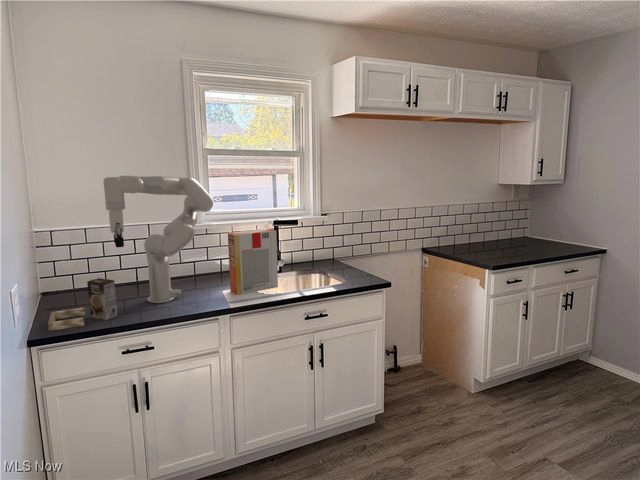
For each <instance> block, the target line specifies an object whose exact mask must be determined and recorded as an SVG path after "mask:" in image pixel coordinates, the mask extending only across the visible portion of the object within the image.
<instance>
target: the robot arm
mask: <svg viewBox="0 0 640 480" xmlns="http://www.w3.org/2000/svg"><path fill="white" fill-rule="evenodd" d="M103 190H104V199H105V200H104V202H105V203H104V204H105V211H108V216H109V219H108V220H109V228H110V233H111V234H113V242H114V244H115V248H124V246H125V241H124V236H123V233H124V227H125V226H124V213H123V210H126V201H125V194H137V193H140V194H147V195H148V194H150V195H156V196H157V195H158V196H166V195H167V196H185V198H184V201H183V211H182V212H181V214H180V215H179V216H177V217H176V218H175V219H174V220H172V221H171V222H169V223H168V224H167V225H165V227H164V228H163V234H157V233H156V234H155V233H154V234H150V235H148V236H147V237H146V239H145V240H144V242H143V243H144V244H143V245H144V251H145V254H146V259H147V268H148V281H149V293H150V295H149V296H148V297H147V298H146V299H147V302H149V303H150V304H151V303H152V304H163V303H164V304H165V303H168V302H171V301H173V300H175V298H176V295H181V294H182V289H178V288H176V289H173V288H172V283H171V282H172V281H171V270H170V260H169V258H170V257H173V256H174V255H176V254H177V253H179V252H180V251H181V250H183V249H184V248H185V247H186V246H188V244H190V243H191V242H192V240H193V239H194V237H195V229H194V227H195V226H196V225H197V223H198V218H199V217H198V216H199V212H201V213H203V212H204V213H205V212H206V213H207V212H210V211H212V208H214V207H213V206H214V201H213V198H212V197H211V195H210V194H209V192H207V190H206V189H205V188H204V187H203V186H202V185H201V184H200V182H198V180H196V179H195V178H193V177H179V176H178V177H177V176H161V175H160V176H159V175H157V176H155V175H153V176H139V175H138V176H137V175H120V176H109V177H108V176H107V177H104V179H103Z"/></svg>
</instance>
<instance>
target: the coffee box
mask: <svg viewBox="0 0 640 480" xmlns="http://www.w3.org/2000/svg"><path fill="white" fill-rule="evenodd" d="M86 283H87V291H88V293H87V294H88V302H89V310H90V311H89V312H90V318H93V319H98V320H104V321H107V320H111V319H112V318H115V317H118V309H117V298H116V297H117V296H116V295H117V294H116V284H115V280H114V279H108V278H100V277H99V278H95V279H90V280H88V281H87V282H86Z"/></svg>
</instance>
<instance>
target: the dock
mask: <svg viewBox="0 0 640 480" xmlns="http://www.w3.org/2000/svg"><path fill="white" fill-rule="evenodd" d="M85 315H86V310H85V307H79V308H71V309H63V310H58V311H57V310H56V311H51V312H50V316H49V317H48V318H49V319H48V322H47V327H48V332H50V331H51V332H52V331H57V330H58V331H59V330H64V329H71V328H76V327H82V326H83V327H84V326H85V318H84V316H85ZM80 316H81V317H80ZM82 316H83V317H82ZM73 317H76V318H73ZM77 317H78V318H77ZM66 318H67V319H66ZM68 318H71V319H68ZM59 319H63V320H59ZM56 320H57V321H56Z"/></svg>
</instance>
